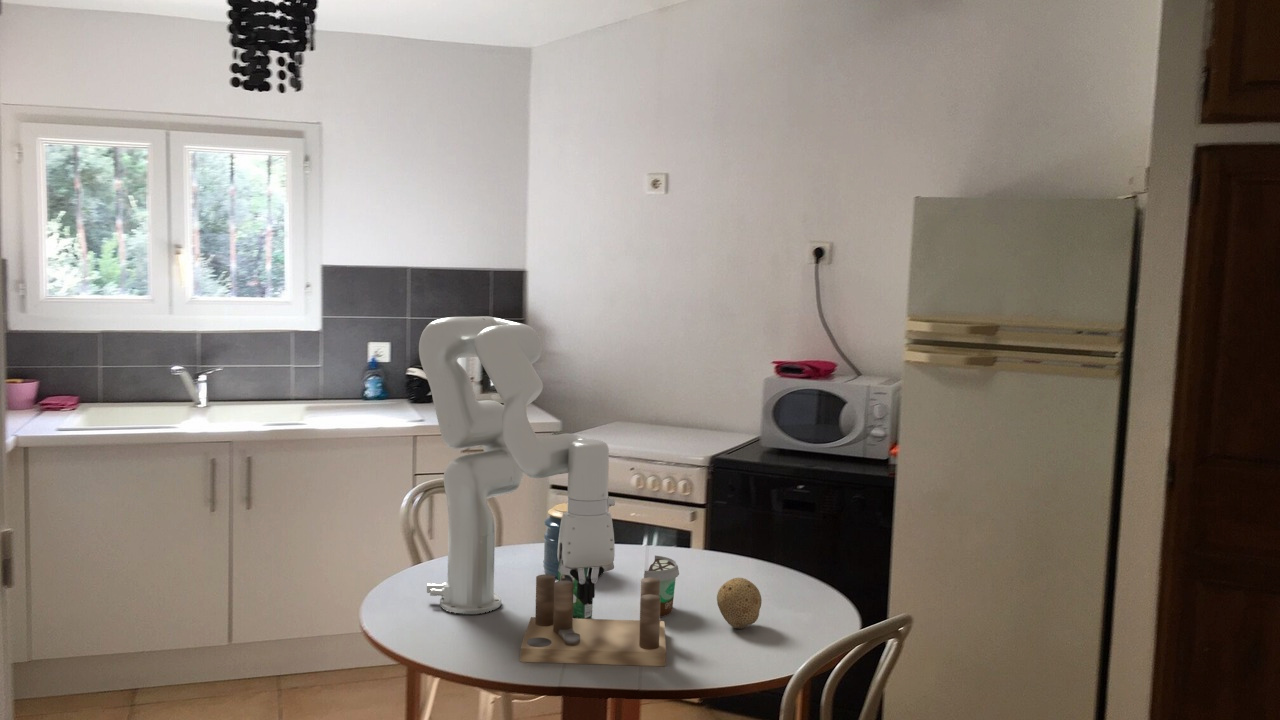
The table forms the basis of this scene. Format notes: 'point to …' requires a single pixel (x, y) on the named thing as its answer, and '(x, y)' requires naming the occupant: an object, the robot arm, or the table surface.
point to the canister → (553, 539)
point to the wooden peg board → (597, 633)
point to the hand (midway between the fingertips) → (585, 602)
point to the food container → (664, 581)
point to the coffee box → (578, 607)
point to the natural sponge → (739, 602)
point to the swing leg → (564, 612)
